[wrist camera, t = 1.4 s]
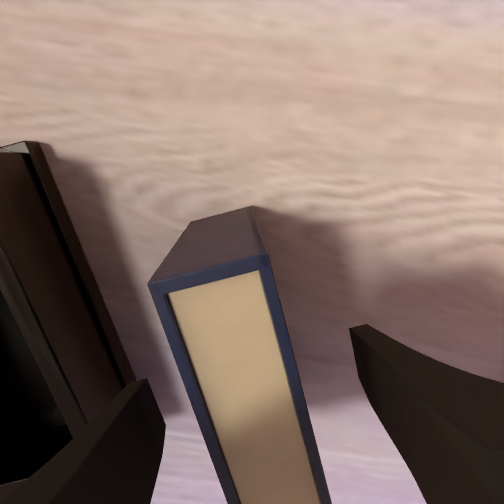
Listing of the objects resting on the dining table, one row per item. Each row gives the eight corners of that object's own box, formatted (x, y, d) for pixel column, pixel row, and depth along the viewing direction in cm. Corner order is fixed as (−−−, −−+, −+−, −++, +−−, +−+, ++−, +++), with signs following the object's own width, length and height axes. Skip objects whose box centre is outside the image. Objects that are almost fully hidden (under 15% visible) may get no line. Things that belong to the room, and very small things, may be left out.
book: (298, 384, 19) (342, 546, 11) (245, 398, 19) (250, 567, 11) (252, 205, 16) (267, 252, 8) (190, 221, 16) (146, 283, 8)
